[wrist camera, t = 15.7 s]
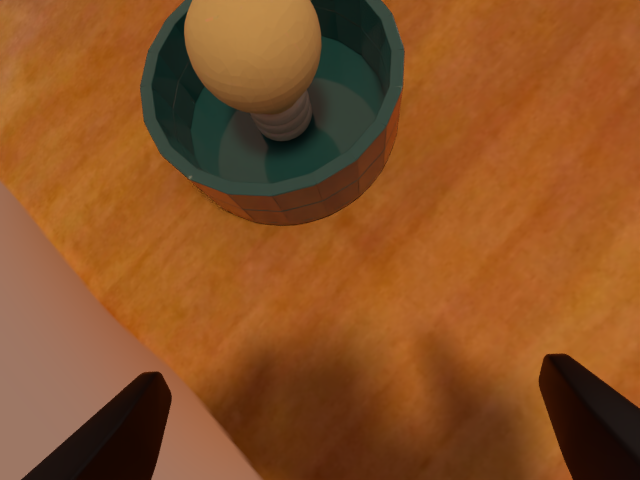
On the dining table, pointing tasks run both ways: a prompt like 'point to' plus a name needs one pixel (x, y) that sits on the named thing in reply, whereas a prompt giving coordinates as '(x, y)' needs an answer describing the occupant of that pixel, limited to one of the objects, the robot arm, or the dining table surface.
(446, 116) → the dining table surface
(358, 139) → the round teal dish
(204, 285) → the dining table surface
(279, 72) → the light bulb
